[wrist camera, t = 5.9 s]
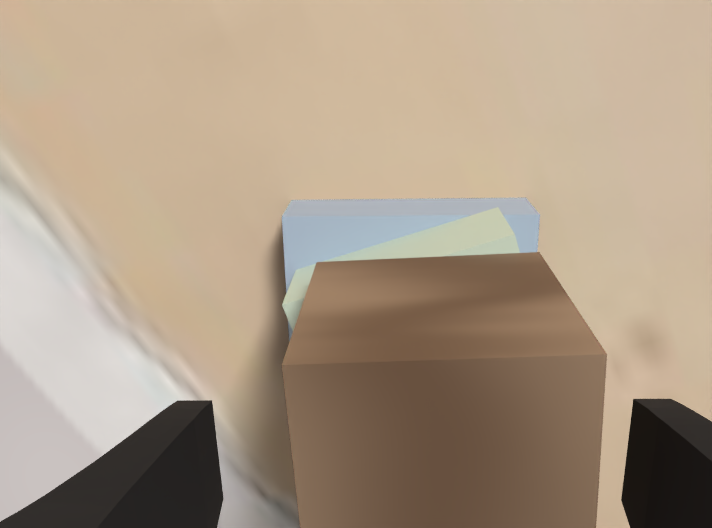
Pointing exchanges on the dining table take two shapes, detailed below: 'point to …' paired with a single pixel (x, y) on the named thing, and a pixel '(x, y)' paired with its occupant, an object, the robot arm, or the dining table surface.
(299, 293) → the sage block
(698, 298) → the dining table surface
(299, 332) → the walnut cube
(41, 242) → the dining table surface
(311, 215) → the slate slab
